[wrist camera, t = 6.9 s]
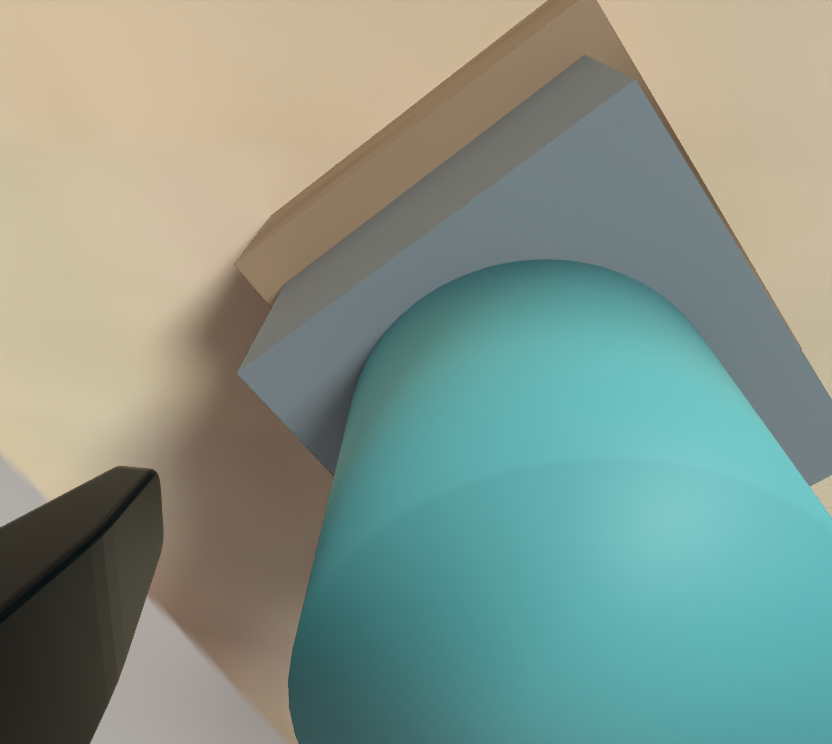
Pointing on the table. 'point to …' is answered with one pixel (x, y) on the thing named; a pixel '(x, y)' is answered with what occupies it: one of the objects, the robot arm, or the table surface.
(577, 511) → the teal rounded dome
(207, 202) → the table surface
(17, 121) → the table surface
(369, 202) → the lower block
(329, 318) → the upper block
